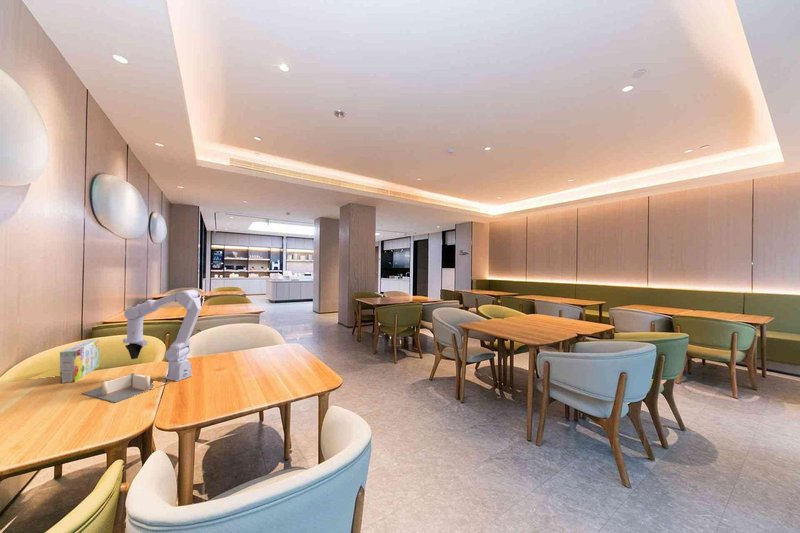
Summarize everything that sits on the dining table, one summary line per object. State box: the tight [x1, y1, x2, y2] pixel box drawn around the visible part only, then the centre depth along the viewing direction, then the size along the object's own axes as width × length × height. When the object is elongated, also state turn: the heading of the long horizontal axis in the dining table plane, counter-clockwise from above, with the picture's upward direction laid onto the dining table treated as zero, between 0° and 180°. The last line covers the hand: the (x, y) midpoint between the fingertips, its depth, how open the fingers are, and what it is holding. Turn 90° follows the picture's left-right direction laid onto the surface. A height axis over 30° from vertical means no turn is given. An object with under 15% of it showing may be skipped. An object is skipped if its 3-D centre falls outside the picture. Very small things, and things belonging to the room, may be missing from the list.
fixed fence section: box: [132, 373, 151, 391], centre depth 129 cm, size 10×2×6 cm, turn 73°
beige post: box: [101, 372, 135, 395], centre depth 126 cm, size 12×2×5 cm, turn 165°
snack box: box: [59, 338, 100, 384], centre depth 142 cm, size 21×6×15 cm, turn 25°
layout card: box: [81, 378, 169, 404], centre depth 129 cm, size 22×20×1 cm
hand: (134, 358), depth 141 cm, fingers closed
